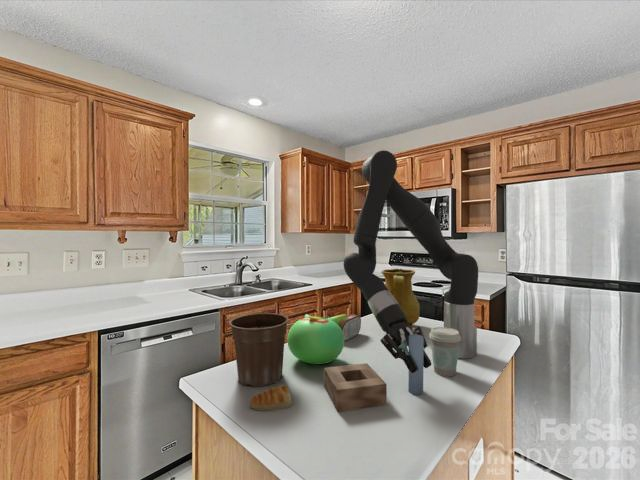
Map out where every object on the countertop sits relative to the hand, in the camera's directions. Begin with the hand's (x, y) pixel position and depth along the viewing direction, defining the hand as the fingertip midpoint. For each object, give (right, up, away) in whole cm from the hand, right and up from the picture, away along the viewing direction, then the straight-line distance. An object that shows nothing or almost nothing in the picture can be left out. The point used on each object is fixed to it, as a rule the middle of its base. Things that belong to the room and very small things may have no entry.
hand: (422, 368), depth 79 cm
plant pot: (-42, -7, +10) cm, 44 cm away
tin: (-14, -6, +43) cm, 45 cm away
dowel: (-1, -6, +2) cm, 7 cm away
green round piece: (-26, -6, +21) cm, 34 cm away
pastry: (-36, -7, -4) cm, 37 cm away
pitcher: (+7, -5, +55) cm, 56 cm away
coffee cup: (+11, -6, +13) cm, 18 cm away
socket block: (-17, -7, 0) cm, 18 cm away
